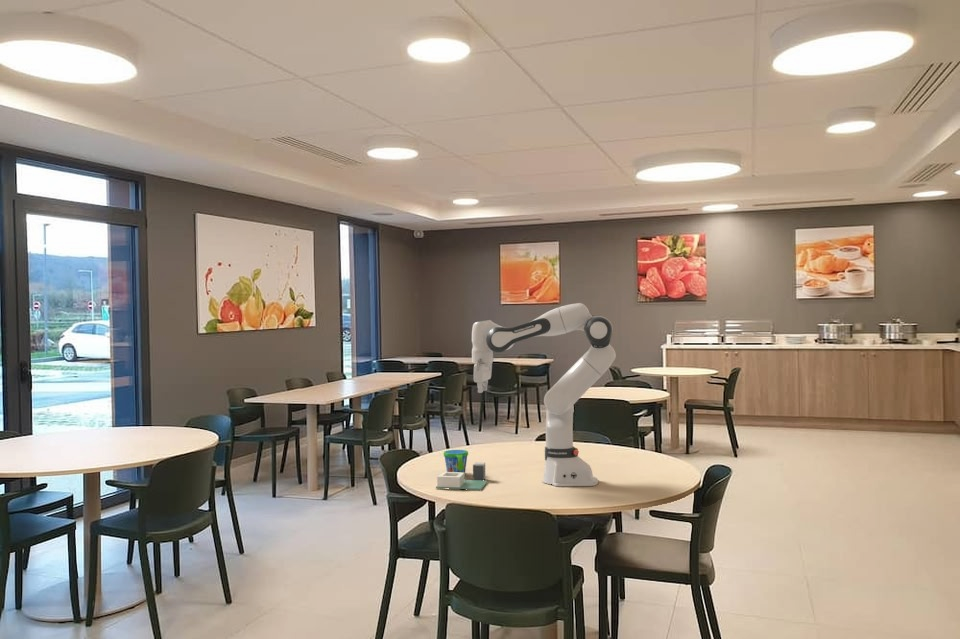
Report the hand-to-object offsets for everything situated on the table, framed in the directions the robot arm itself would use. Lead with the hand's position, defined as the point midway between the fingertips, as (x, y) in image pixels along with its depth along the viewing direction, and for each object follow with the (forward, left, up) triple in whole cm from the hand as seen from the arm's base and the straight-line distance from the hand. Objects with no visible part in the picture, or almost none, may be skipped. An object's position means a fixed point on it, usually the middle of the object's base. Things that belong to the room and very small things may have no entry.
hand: (482, 391), depth 284 cm
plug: (+1, +1, -37) cm, 37 cm away
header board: (+6, +12, -37) cm, 39 cm away
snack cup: (+13, -7, -37) cm, 40 cm away
